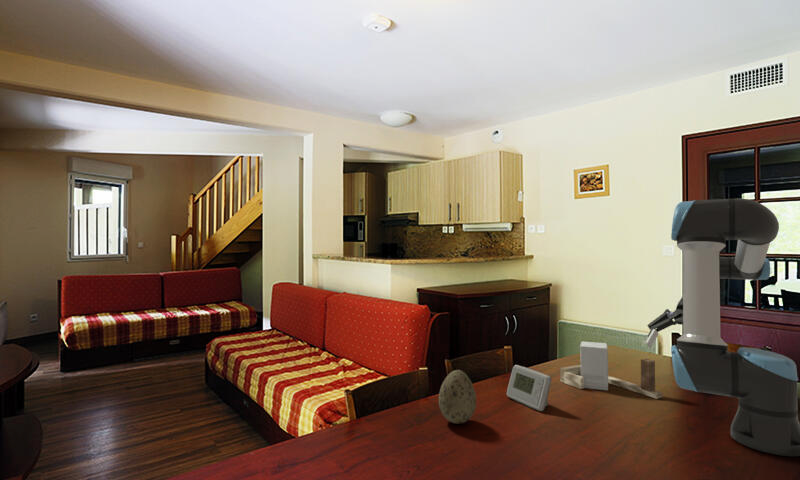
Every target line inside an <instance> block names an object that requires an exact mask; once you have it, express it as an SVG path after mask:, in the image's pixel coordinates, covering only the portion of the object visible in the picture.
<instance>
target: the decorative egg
mask: <svg viewBox="0 0 800 480" xmlns="http://www.w3.org/2000/svg"><path fill="white" fill-rule="evenodd" d="M438 406H439V409H440V412H441V414H442V415H443V417H444V418H445V419H446V420H447V421H449V422H450V423H452V424H455V425H456V424H457V425H459V424H464V423H466V422H468V421H469V420H470V419H471V418H473V415H474V413H475V411H476V408H477V396H476V390H475V388H474V384H473V382H472V381H471V379H470V377H469V376H468V375H467V374H466V372H465V371H463V370H461V369H456V370H453V371H451V372H449V374H447V376H446V377H445V378H444V380H443V382H442V384H441V386H440V389H439V394H438Z"/></svg>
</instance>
